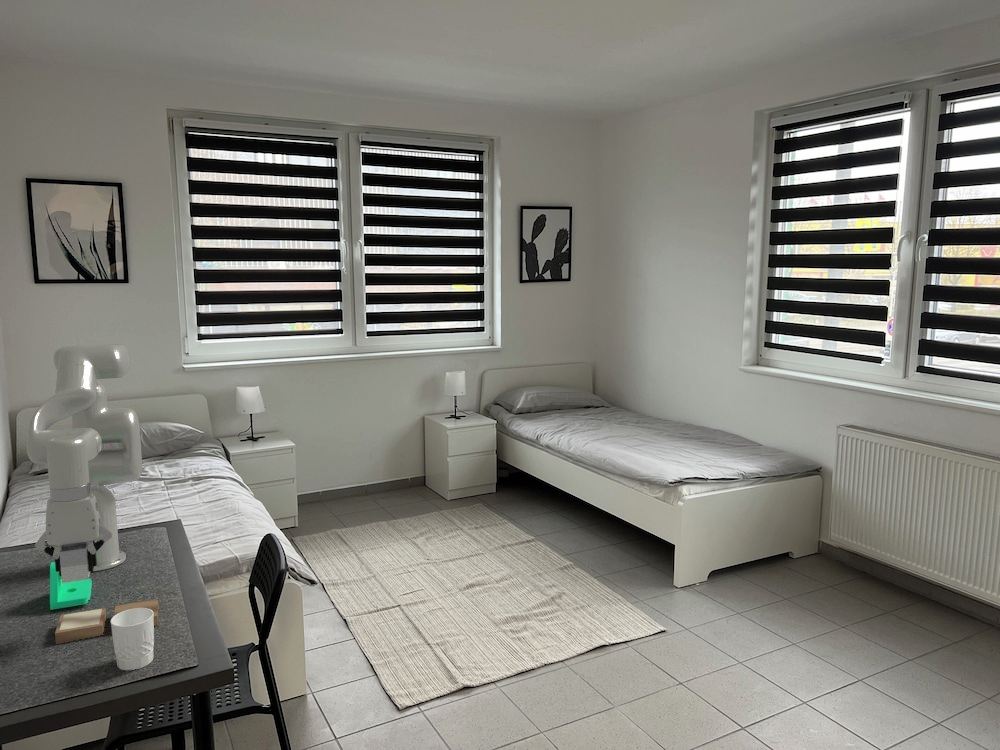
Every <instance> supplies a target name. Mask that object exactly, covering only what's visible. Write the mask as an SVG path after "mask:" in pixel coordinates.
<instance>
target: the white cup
mask: <svg viewBox="0 0 1000 750" xmlns="http://www.w3.org/2000/svg"><path fill="white" fill-rule="evenodd" d="M110 627H111V634H112V642H113V647H114V653H115V658H116V665H117V666H116V667H117V668H118V669H119V670H122V671H134V670H135V669H136V670H139V669H143V668H144V667H146V666H149V664H150V663H152V662H153V660H154V647H155V627H154V613H153V611H152V610H150V609H147V608H134V609H129V610H125V611H122V612H120V613H118V614H116V615H115V616H114V615H113V616H112V617H111V618H110Z"/></svg>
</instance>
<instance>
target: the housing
mask: <svg viewBox="0 0 1000 750" xmlns="http://www.w3.org/2000/svg"><path fill="white" fill-rule="evenodd" d="M59 554H60V565H61V577H62V583H67V582H73V581H80V580H87V579H90V574H91V572H89V563H88V554H89V549H88V547H87V545H86V543H79V544H71V545H63V546H62V547H61V549H60V552H59Z"/></svg>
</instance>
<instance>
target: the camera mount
mask: <svg viewBox="0 0 1000 750" xmlns="http://www.w3.org/2000/svg"><path fill="white" fill-rule="evenodd" d="M92 582H93V581H92V578H89V579H87V580H80V581H73V582H67V583H62V577H61V576H59V572H56V568H55V561H53V562H50V565H49V606H50V607H49V608H50V609H49V610H50V611H51V610H57V609H58V610H59V609H64V608H69V607H76V606H81V605H82V606H83V605H86V604H88V603H89V601H88V600H90V601H91V596H92V588H93V587H92V586H93V583H92Z"/></svg>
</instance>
